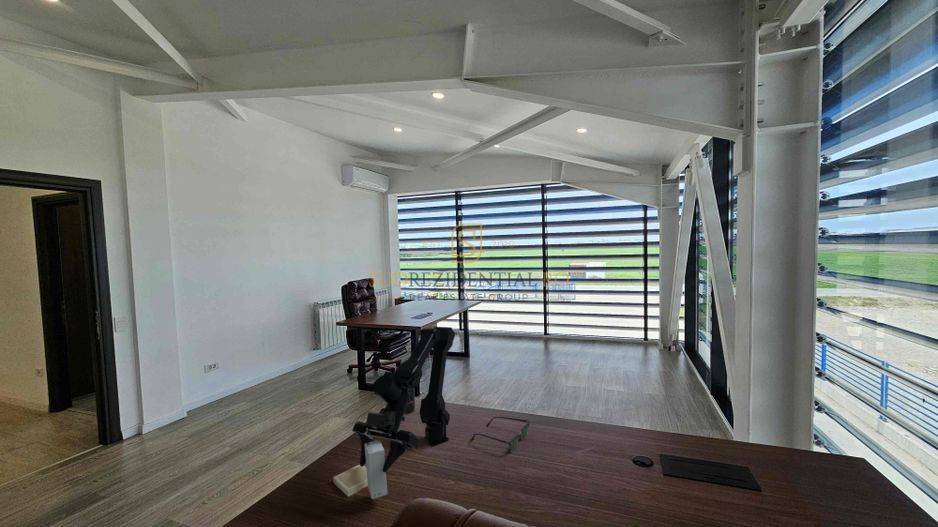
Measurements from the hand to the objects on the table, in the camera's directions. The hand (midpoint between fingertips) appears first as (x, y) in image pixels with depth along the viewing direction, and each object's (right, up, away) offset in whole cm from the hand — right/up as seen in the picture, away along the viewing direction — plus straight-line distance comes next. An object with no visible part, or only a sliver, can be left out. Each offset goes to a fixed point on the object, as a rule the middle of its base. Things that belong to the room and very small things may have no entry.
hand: (372, 469), depth 93 cm
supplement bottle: (-1, -8, +56) cm, 56 cm away
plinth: (-8, -10, +10) cm, 16 cm away
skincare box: (+1, -7, +2) cm, 7 cm away
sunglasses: (+36, -8, +31) cm, 48 cm away
